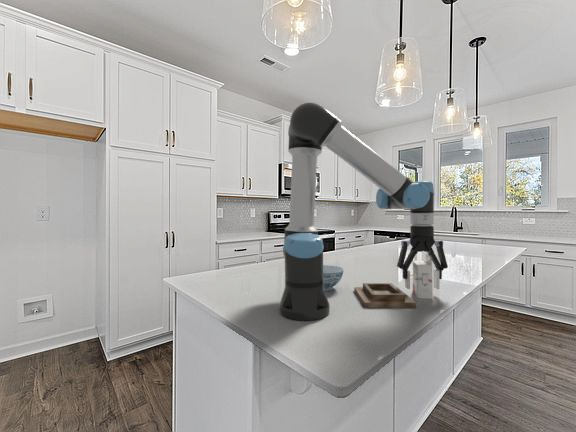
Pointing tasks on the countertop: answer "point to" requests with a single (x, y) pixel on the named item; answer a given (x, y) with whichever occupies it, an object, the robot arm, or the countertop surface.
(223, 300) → the countertop surface
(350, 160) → the robot arm
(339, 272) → the chinaware
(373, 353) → the countertop surface
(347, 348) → the countertop surface
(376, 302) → the walnut bay board
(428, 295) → the ink cartridge box
